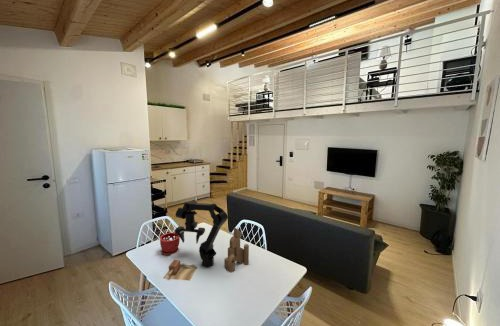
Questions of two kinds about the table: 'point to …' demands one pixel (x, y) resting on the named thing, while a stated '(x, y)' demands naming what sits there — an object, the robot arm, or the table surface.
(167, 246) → the plant pot
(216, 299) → the table surface
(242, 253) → the wooden toy
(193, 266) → the board
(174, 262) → the brown block with peg
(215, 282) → the table surface
